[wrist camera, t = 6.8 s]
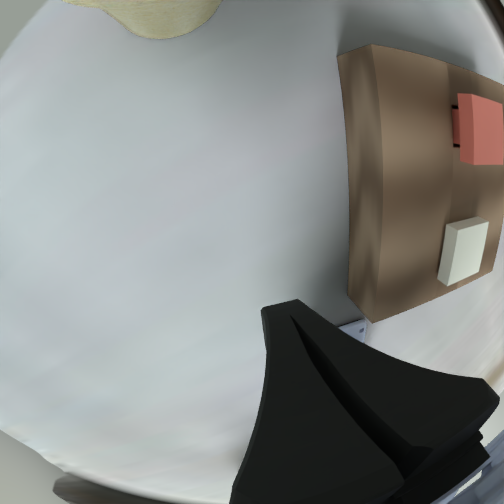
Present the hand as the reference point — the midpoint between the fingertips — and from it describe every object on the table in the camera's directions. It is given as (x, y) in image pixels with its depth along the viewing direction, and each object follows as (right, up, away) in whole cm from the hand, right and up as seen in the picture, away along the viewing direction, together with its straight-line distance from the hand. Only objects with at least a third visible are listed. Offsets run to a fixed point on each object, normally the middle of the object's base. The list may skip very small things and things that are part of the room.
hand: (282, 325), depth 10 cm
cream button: (+14, +5, +11) cm, 18 cm away
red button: (+13, +12, +7) cm, 19 cm away
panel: (+13, +9, +10) cm, 19 cm away
